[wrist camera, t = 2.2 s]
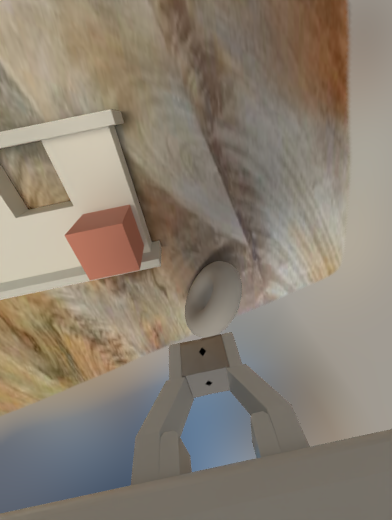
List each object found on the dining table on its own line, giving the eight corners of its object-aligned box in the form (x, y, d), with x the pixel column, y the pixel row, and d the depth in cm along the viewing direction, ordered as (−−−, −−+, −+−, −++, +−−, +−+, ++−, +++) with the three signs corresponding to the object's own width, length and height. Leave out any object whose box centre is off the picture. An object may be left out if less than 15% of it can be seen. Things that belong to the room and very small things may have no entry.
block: (82, 214, 23) (64, 235, 19) (129, 204, 23) (121, 223, 19) (102, 254, 26) (89, 280, 21) (144, 245, 26) (139, 269, 21)
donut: (214, 243, 30) (234, 292, 21) (234, 253, 31) (260, 303, 22) (178, 293, 34) (182, 351, 25) (197, 301, 35) (207, 358, 26)
